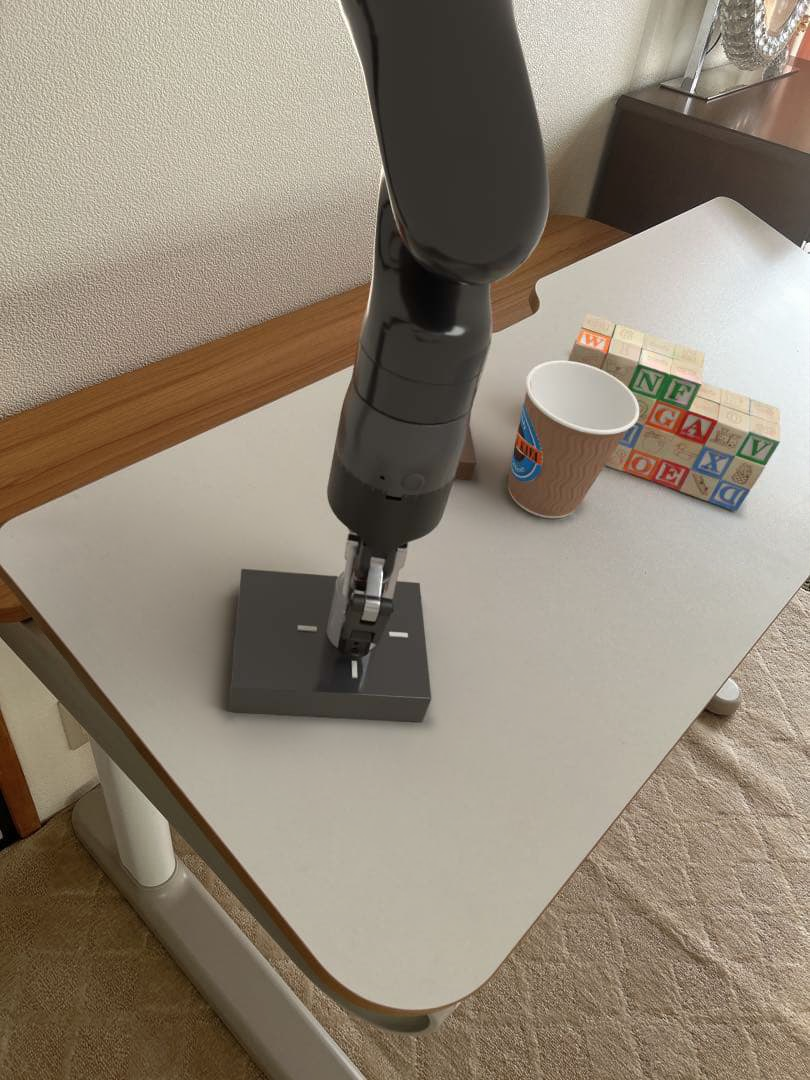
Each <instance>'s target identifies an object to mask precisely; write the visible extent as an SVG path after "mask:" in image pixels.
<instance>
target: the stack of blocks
mask: <svg viewBox="0 0 810 1080" xmlns="http://www.w3.org/2000/svg"><path fill="white" fill-rule="evenodd" d="M704 360H705V352H703V351H700V350H697V349H694V348H690V347H688V346H685V345H682V344H679V343H675V342H672V341H670V340H668V339H664V338H661V337H657V336H654V335H651V334H649V333H648V334H646V333H644V332H642V331H639V330H636V329H633V328H630V327H627V326H623V325H622V324H616V323H615V322H613V321H611V320H607V319H605V318H601V317H598V316H597V315H596V316H595V315H593V314H590V313H586V315H585V317H584V320H583V322H582V325H581V327H580V331H579V333H578V336H577V338H576V339H575V341H574V344H573V346H572V349H571V351H570V354H569V356H568V359H567V361H573V362H579V363H583V364H587V365H590V366H593V367H596V368H598V369H600V370H603V371H605V372H607V373H608V374H610V375H612V376H614V377H615V378H617V379H618V380H619V381H621V382H622V383H623V384H624V385H625V386H626V387H628V389H629V390H630V391H631V392H632V393H633V395H634V396H635V398H636V400H637V402H638V405H639V417H638V420H637V421H636V423H635V424H634V425H633V426H632V427H631V428H629V429H628V430H627V432H626V433H625V435H624V437H623V438H622V440H621V441H620V443H619V444H618V446H617V447H616V449H615V451H614V452H613V454H612V455H611V457H610V458H609V460H608V461H607V463H606V464H605V466H606V467H609V468H612V469H615V470H617V471H621V472H625V473H627V474H631V475H634V476H636V477H639V478H643V479H645V480H648V481H652V482H654V483H657V484H659V485H662V486H665V487H668V488H672V489H673V490H677V491H678V490H679V492H682V493H684V494H686V495H689V496H693V497H695V498H698V499H700V500H704V501H706V502H709V503H712V504H715V505H717V506H720V507H721V508H722V507H723V508H725V509H728V510H731V511H734V512H737V511H738V510H739V509H740V507H741V506H742V504H743V502H744V501H745V500H746V498H747V496H748V495H749V493H750V492H751V490H752V489H753V488H754V486H755V485H756V483H757V481H758V479H759V478H760V476H761V475H762V473H763V471H764V470H765V468H766V465H767V464H768V462H769V461H770V460H771V458H772V456H773V454H774V453H775V451H776V450H777V448H778V446H779V444H780V443H781V408H780V407H777V406H773V405H771V404H768V403H766V402H765V403H764V402H762V401H760V400H756V399H751V398H750V397H749V396H746V395H743V394H740V393H737V392H734V391H731V390H728V389H726V388H721V387H719V386H717V385H714V384H710V383H707V382H705V381H703V374H704Z"/></svg>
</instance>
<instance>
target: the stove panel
mask: <svg viewBox="0 0 810 1080" xmlns="http://www.w3.org/2000/svg"><path fill="white" fill-rule="evenodd" d="M338 576H339V575H329V574H328V575H326V574H316V573H315V574H314V573H304V572H303V573H302V572H290V571H279V570H278V571H277V570H266V569H265V570H264V569H254V568H253V569H252V568H241V569H240V579H239V587H238V600H237V610H236V622H235V623H236V624H235V635H234V645H233V646H234V647H233V657H232V669H231V682H230V693H229V695H230V696H229V705H228V711H229V712H230V713H243V714H244V713H245V714H247V713H248V714H264V715H265V714H266V715H283V716H285V715H287V716H301V717H303V716H304V717H305V716H306V717H324V718H341V719H343V718H345V719H359V720H360V719H363V720H380V721H381V720H383V721H402V722H421V723H422V722H424V720H425V717H426V714H427V712H428V709H429V706H430V704H431V701H432V691H431V690H432V689H431V681H430V679H431V678H430V670H429V661H428V652H427V641H426V632H425V623H424V613H423V612H424V611H423V603H422V601H423V600H422V591H421V584H420V582H414V581H412V582H411V581H402V580H401V581H400V580H397V582H396V586H395V591H394V595H393V603H392V605H394V610H393V613H391V615H390V618H389V621H388V623H387V625H386V627H385V630H384V632H383V634H382V638H381V639H380V641H379V643H378V644H376V646H375V647H374V648H372V649H371V650H369V653H368V654H367V655H366V656H363V657H359V656H352V655H345V654H342V653H340V652H339V651H338V648H337V647H336V646H334V645H333V644H332V643H331V641H330V640H329V638H328V636H327V632H326V627H327V622H328V617H329V613H330V608H331V603H332V598H333V594H334V589H335V584H336V580H337V578H338Z"/></svg>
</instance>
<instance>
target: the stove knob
mask: <svg viewBox="0 0 810 1080" xmlns="http://www.w3.org/2000/svg"><path fill="white" fill-rule="evenodd" d="M354 567H355V566H354ZM344 571H345V570H344ZM344 571H342V572H340V574H339V575H337V576H338V578H337V580H336V584H335V589H334V594H333V598H332V603H331V608H330V613H329V617H328V622H327V627H326V632H327V636H328V638H329V640H330V641H331V643H332V644H333V645H334V646H336V647H337V648H338V641H339V637H340V632H341V626H342V624H343V619H342V618H341V616H342V611H344V610H345V605H346V600H347V599H346V598H345V597H343V595H342V581H343V576H344ZM354 575H355V572H354V571H353V576H352V577H353V578H354V579H355V580H359V579H358V578H357V577H356V576H354ZM386 580H387V579H386ZM386 580H385V581H384V582H386ZM359 581H361V580H359ZM365 582H366V581H365ZM384 582H382V583H384ZM375 646H376V644H373V643H371V645H370V649H369V650H371V649H372V648H374V647H375Z"/></svg>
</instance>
